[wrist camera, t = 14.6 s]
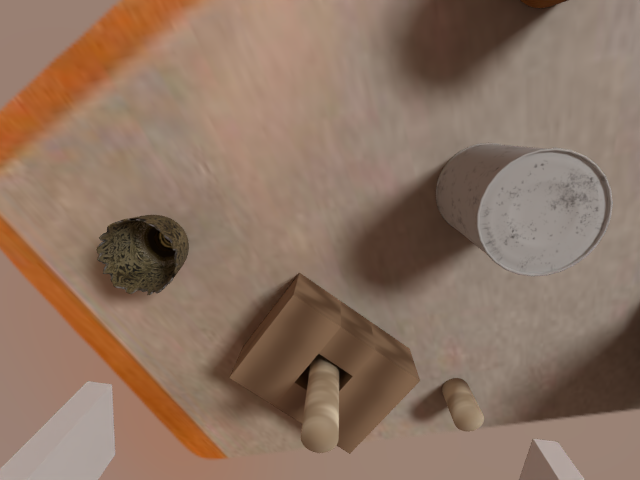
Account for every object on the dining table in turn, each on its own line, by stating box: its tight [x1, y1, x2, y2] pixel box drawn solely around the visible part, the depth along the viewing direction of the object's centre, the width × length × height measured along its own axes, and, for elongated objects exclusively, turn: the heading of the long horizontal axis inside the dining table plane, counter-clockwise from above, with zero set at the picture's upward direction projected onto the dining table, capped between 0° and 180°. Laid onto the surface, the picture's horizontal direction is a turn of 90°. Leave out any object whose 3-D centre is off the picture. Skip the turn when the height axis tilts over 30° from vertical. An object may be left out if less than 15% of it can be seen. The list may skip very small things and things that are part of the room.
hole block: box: [230, 273, 420, 454], centre depth 42 cm, size 16×12×6 cm
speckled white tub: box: [436, 143, 613, 276], centre depth 33 cm, size 10×10×12 cm
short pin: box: [442, 378, 484, 431], centre depth 44 cm, size 3×3×5 cm
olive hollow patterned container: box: [97, 215, 189, 295], centre depth 38 cm, size 8×7×8 cm
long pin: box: [301, 354, 339, 453], centre depth 39 cm, size 3×3×14 cm
